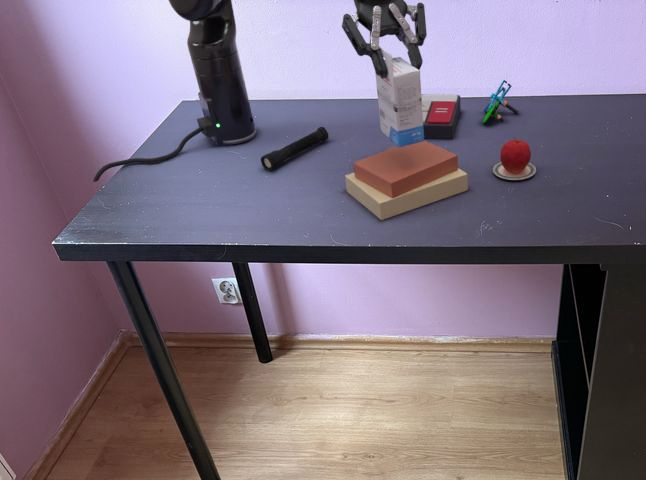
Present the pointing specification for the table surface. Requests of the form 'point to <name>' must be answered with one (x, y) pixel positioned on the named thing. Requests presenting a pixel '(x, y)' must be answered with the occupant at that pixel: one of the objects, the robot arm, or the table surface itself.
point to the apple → (515, 161)
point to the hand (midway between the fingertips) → (401, 72)
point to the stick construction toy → (498, 103)
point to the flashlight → (293, 149)
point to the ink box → (400, 102)
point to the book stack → (405, 178)
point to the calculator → (440, 115)
